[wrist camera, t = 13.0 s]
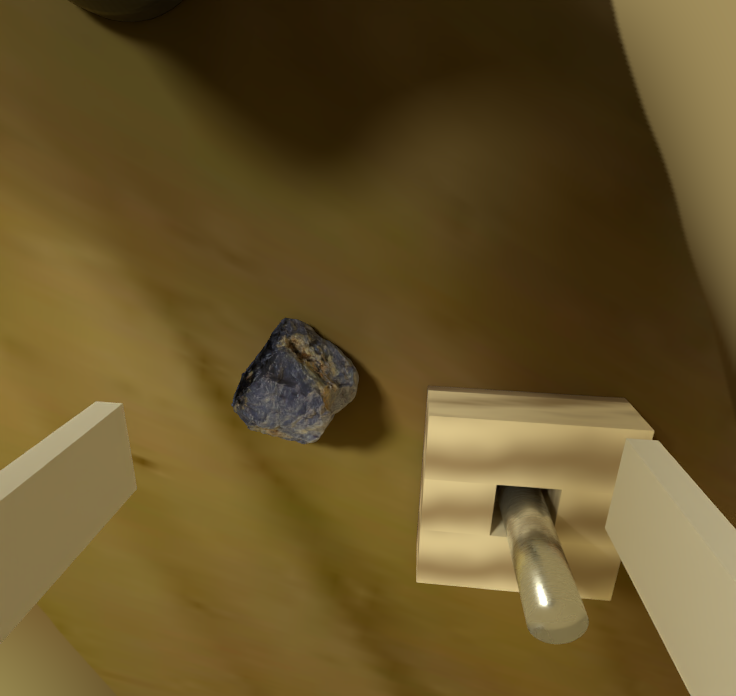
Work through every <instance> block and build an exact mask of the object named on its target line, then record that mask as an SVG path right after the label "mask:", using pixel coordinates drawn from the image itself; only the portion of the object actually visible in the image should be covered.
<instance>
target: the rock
mask: <svg viewBox="0 0 736 696" xmlns="http://www.w3.org/2000/svg"><path fill="white" fill-rule="evenodd" d="M358 382H359V376H358V372H357V370H356V368H355V367H354V365H353V363H352V361H351V360H350V359H349V358H347V357H346V356H345V355H344V354H343V353H342V351H341V350H340V349H339V348H338V347H337V346H335V345H334V344H332V343H331V342H330V341H327V340H325V339H323V338H321V337H319V335H318V334H316V332H315V331H314V330H313V328H312V327H310V326H309V325H308V324H306V323H304V322H302V321H300V320H297V319H289V318H285V319H283V320H281V323H280V324H279V325H278V326H277V328H276V329H275V330H274V331H273V332H272V334H271V336H270V340H268V341H267V343H266V344H265V346H264V347H263V349H262V350H261V352H260V353H259V354H258V355H257V356H256V358H255V360H254V361H253V362H252V363H251V364H250V366H249V367H248V368H247V369H246V372H245V373H243V374H242V377H241V380H240V383H239V385H238V387H237V390H236V392H235V394H234V398H233V403H232V406H233V408H234V412H236V413H237V414H238V415H239V417H240V418H241V419H242V420H243V421H244V422H245V423H246V425H247V426H248V428H249V429H250V430H254V431H260V432H262V433H263V434H269V435H271V436H278V437H280V438H282V439H286V440H291V441H294V440H295V441H297V442H299V443H301V444H307V443H309V442H310V443H313V442H316V441H317V440H319V439H320V436H321V435H322V434H323V433H324V430H325V429H326V427H327V426H328V425H329V423H330V422H331V421H332V419H333V417H334V415H335V413H337V412H339V411H340V410H341V409H343V408H344V407H345V406H346V405H347V404H348V403H350V402H352V400H353V399H354V398H355V396H356V392H357V386H358Z"/></svg>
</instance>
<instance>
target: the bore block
mask: <svg viewBox="0 0 736 696" xmlns="http://www.w3.org/2000/svg"><path fill="white" fill-rule="evenodd" d="M653 435H654V430H653V429H652V428H651V427H650V425H649V424H648V423H647V422H646V421H645V420H644V419H643V418H642V416H641V415H640V414H639V413H638V412H637V411H636V410H635V409H634V407H633V406H632V405H631V404H630V403H629V402H628V401H627V400H626V398H616V397H600V396H584V395H568V394H552V393H536V392H520V391H504V390H488V389H472V388H456V387H440V386H428V391H427V405H426V419H425V432H424V446H423V460H422V474H421V487H420V501H419V515H418V529H417V576H416V582H420V583H430V584H440V585H451V586H461V587H472V588H482V589H492V590H503V591H513V592H519V588H518V584H517V580H516V575H515V571H514V567H513V562H512V558H511V554H510V549H509V545H508V541H507V536H506V532H505V528H504V524H503V519H502V515H501V511H500V506H499V502H498V498H497V493H496V486H497V485H507V486H520V487H533V488H540V489H541V492H542V494H543V497H544V500H545V502H546V505H547V508H548V511H549V513H550V516H551V519H552V521H553V524H554V527H555V529H556V532H557V535H558V538H559V540H560V543H561V546H562V548H563V551H564V554H565V556H566V559H567V562H568V565H569V567H570V570H571V573H572V575H573V578H574V581H575V583H576V586H577V589H578V592H579V594H580V597H581V598H586V599H596V600H607V601H611V597H612V593H613V589H614V586H615V582H616V578H617V574H618V570H619V566H620V562H621V559H620V557H619V555H618V553H617V551H616V549H615V547H614V545H613V543H612V541H611V539H610V537H609V535H608V533H607V531H606V529H605V525H606V521H607V517H608V512H609V508H610V504H611V500H612V495H613V491H614V487H615V483H616V479H617V474H618V470H619V466H620V462H621V457H622V453H623V449H624V445H625V441H626V438H630V439H644V440H652V438H653Z"/></svg>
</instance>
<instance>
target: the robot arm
mask: <svg viewBox="0 0 736 696" xmlns="http://www.w3.org/2000/svg"><path fill="white" fill-rule="evenodd" d="M68 1H70V2H72V3H73V4H75V5H77V6H79V7H81V8H84V9H86V10H88V11H90V12H92V13H94V14H96V15H99V16H101V17H104V18H107V19H111V20H116V21H123V22H137V21H144V20H148V19H152V18H155V17H157V16H160V15H162V14H164V13H166V12H167V11H169V10H171V9H172V8H174V7H175V6H176V5H177V4H179V3H180V2H181V1H182V0H68ZM136 489H137V486H136V480H135V474H134V468H133V462H132V456H131V450H130V444H129V438H128V432H127V426H126V420H125V414H124V408H123V403H109V402H95V403H93V404H92V405H90V406H89V407H88V408H86V409H85V410H84V411H82V412H81V413H79V414H78V415H77V416H75V417H74V418H73V419H71V420H70V421H68V422H67V423H66V424H64V425H63V426H62V427H60V428H59V429H57V430H56V431H55V432H53V433H52V434H50V435H49V436H48V437H46V438H45V439H44V440H42V441H41V442H39V443H38V444H37V445H35V446H34V447H33V448H31V449H30V450H28V451H27V452H26V453H24V454H23V455H22V456H20V457H19V458H17V459H16V460H15V461H13V462H12V463H10V464H9V465H8V466H6V467H5V468H4V469H2V470H1V471H0V644H1V643H2V642H3V640H4V639H5V638H6V637H7V636H8V635H9V634H10V633H11V631H12V630H13V629H14V628H15V627H16V626H17V624H18V623H19V622H20V621H21V620H22V619H23V618H24V616H25V615H26V614H27V613H28V612H29V611H30V610H31V608H33V606H34V605H35V604H36V603H37V602H38V601H39V600H40V598H41V597H42V596H43V595H44V594H45V593H46V592H47V590H48V589H49V588H50V587H51V586H52V585H53V584H54V582H55V581H56V580H57V579H58V578H59V577H60V576H61V575H62V573H63V572H64V571H65V570H66V569H67V568H68V567H69V565H70V564H71V563H72V562H73V561H74V560H75V559H76V557H77V556H78V555H79V554H80V553H81V552H82V551H83V549H84V548H85V547H86V546H87V545H88V544H89V543H90V542H91V540H92V539H93V538H94V537H95V536H96V535H97V534H98V532H99V531H100V530H101V529H102V528H103V527H104V526H105V524H106V523H107V522H108V521H109V520H110V519H111V518H112V516H113V515H114V514H115V513H116V512H117V511H118V510H119V509H120V507H121V506H122V505H123V504H124V503H125V502H126V501H127V499H128V498H129V497H130V496H131V495H132V494H133V493H134V491H135V490H136ZM605 529H606V531H607V533H608V535H609V537H610V539H611V541H612V543H613V545H614V547H615V549H616V551H617V553H618V555H619V557H620V559H621V561H622V563H623V565H624V567H625V569H626V570H627V572H628V574H629V576H630V578H631V580H632V582H633V584H634V586H635V588H636V590H637V592H638V594H639V596H640V598H641V600H642V602H643V604H644V606H645V608H646V610H647V611H648V613H649V615H650V617H651V619H652V621H653V623H654V625H655V627H656V629H657V631H658V633H659V635H660V637H661V639H662V641H663V643H664V645H665V647H666V649H667V651H668V652H669V654H670V656H671V658H672V660H673V662H674V664H675V666H676V668H677V670H678V672H679V674H680V676H681V678H682V680H683V682H684V684H685V686H686V688H687V690H688V691H689V693H690V695H691V696H736V529H735V528H734V527H733V526H732V525H731V523H730V522H729V521H728V520H727V519H726V518H725V516H724V515H723V514H722V513H721V512H720V511H719V510H718V508H717V507H716V506H715V505H714V504H713V503H712V502H711V500H710V499H709V498H708V497H707V496H706V495H705V494H704V492H703V491H702V490H701V489H700V488H699V487H698V486H697V484H696V483H695V482H694V481H693V480H692V479H691V477H690V476H689V475H688V474H687V473H686V472H685V471H684V469H683V468H682V467H681V466H680V465H679V464H678V463H677V461H676V460H675V459H674V458H673V457H672V456H671V455H670V453H669V452H668V451H667V450H666V449H665V448H664V447H663V445H662V444H661V443H660V442H659V441H658V440H644V439H630V438H626V441H625V445H624V449H623V453H622V457H621V462H620V466H619V470H618V474H617V479H616V483H615V487H614V491H613V495H612V500H611V504H610V508H609V512H608V517H607V521H606V525H605Z"/></svg>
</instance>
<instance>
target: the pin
mask: <svg viewBox="0 0 736 696" xmlns="http://www.w3.org/2000/svg"><path fill="white" fill-rule="evenodd" d="M496 493H497V498H498V502H499V506H500V511H501V515H502V519H503V524H504V528H505V532H506V536H507V541H508V545H509V549H510V554H511V558H512V562H513V567H514V571H515V575H516V580H517V584H518V588H519V593H520V597H521V601H522V605H523V610H524V614H525V618H526V623H527V627H528V629H529V631H530V633H531V634H532V635H533V636H534V637H535V638H537V639H538V640H541V641H543V642H546V643H550V644H564V643H569V642H572V641H574V640H576V639H578V638H579V637H581V636H582V635H583V634H584V633H585V631H586V630H587V627H588V623H589V621H588V616H587V613H586V610H585V608H584V605H583V602H582V600H581V597H580V594H579V592H578V589H577V586H576V583H575V581H574V578H573V575H572V573H571V570H570V567H569V565H568V562H567V559H566V556H565V554H564V551H563V548H562V546H561V543H560V540H559V538H558V535H557V532H556V529H555V527H554V524H553V521H552V519H551V516H550V513H549V511H548V508H547V505H546V502H545V500H544V497H543V494H542V492H541V489H540V488H533V487H520V486H507V485H497V486H496Z"/></svg>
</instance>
